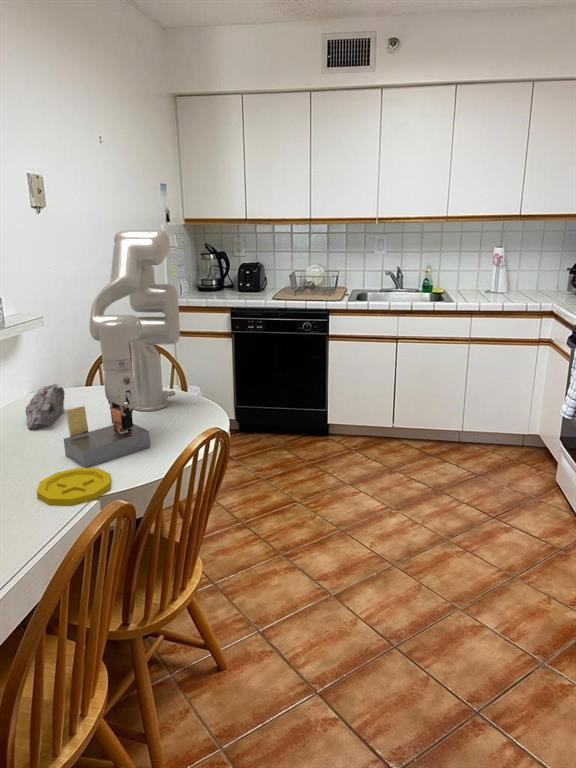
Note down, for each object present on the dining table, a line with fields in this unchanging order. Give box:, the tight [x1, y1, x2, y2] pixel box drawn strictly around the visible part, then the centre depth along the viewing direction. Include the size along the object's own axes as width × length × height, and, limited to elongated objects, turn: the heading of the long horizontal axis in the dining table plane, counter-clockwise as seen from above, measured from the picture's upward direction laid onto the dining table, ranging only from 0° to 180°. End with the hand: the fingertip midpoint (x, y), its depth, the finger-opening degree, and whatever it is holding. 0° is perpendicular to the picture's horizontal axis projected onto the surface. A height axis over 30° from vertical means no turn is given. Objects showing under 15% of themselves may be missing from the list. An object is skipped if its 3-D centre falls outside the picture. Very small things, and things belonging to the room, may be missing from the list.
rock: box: [25, 383, 65, 430], centre depth 187 cm, size 22×10×15 cm, turn 5°
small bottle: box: [111, 406, 131, 434], centre depth 164 cm, size 5×5×10 cm
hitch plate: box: [63, 423, 151, 468], centre depth 162 cm, size 20×12×5 cm, turn 134°
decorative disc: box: [36, 467, 112, 506], centre depth 141 cm, size 17×18×2 cm
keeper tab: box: [65, 405, 90, 437], centre depth 159 cm, size 8×5×1 cm
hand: (122, 424), depth 164 cm, fingers closed on small bottle, 5 cm apart
